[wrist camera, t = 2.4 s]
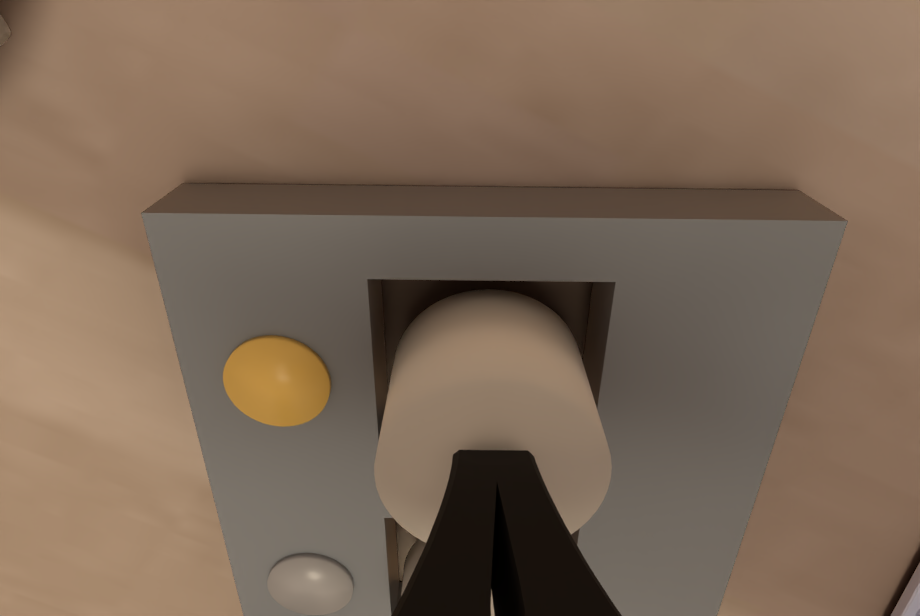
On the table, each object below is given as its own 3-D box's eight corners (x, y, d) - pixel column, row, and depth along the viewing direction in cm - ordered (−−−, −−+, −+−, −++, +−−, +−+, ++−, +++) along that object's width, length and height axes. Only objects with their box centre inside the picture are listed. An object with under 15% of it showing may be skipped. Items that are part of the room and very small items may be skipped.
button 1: (590, 290, 13) (627, 380, 10) (571, 445, 15) (597, 558, 12) (389, 287, 13) (366, 377, 10) (397, 443, 15) (380, 556, 12)
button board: (799, 190, 14) (853, 224, 12) (647, 724, 24) (663, 789, 22) (182, 183, 14) (136, 216, 12) (297, 719, 24) (283, 783, 22)
